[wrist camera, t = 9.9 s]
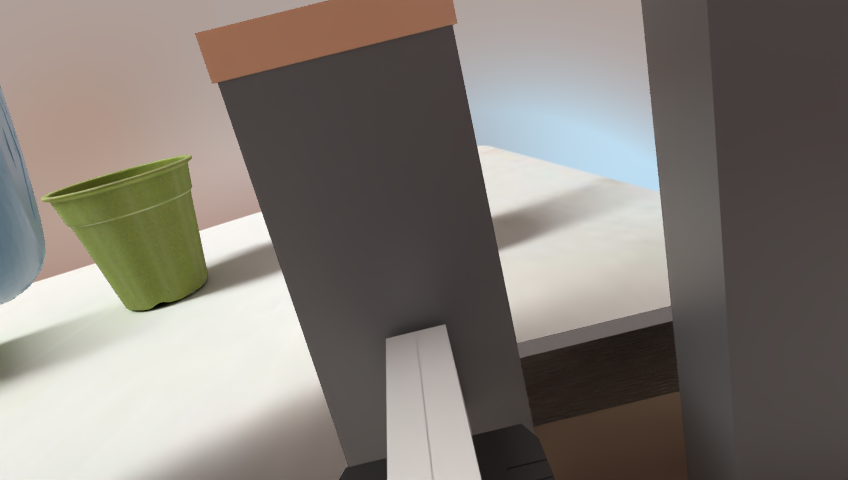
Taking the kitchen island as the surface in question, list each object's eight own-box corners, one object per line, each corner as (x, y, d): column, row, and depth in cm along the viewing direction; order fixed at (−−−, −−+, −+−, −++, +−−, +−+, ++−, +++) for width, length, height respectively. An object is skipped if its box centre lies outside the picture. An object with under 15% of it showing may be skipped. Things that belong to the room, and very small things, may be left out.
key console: (1516, 587, 12) (1613, 409, 10) (374, 862, 12) (312, 724, 10) (977, 333, 22) (987, 228, 21) (377, 479, 23) (346, 385, 21)
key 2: (559, 534, 16) (446, -29, 11) (382, 577, 16) (195, 33, 11) (535, 470, 19) (435, -15, 14) (382, 508, 19) (227, 37, 14)
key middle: (948, 528, 14) (1015, -187, 9) (740, 578, 14) (695, -107, 9) (861, 456, 16) (878, -135, 11) (686, 499, 16) (628, -73, 11)
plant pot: (253, 257, 56) (214, 145, 52) (196, 313, 45) (141, 177, 41) (147, 277, 58) (101, 171, 54) (67, 336, 47) (3, 208, 43)
